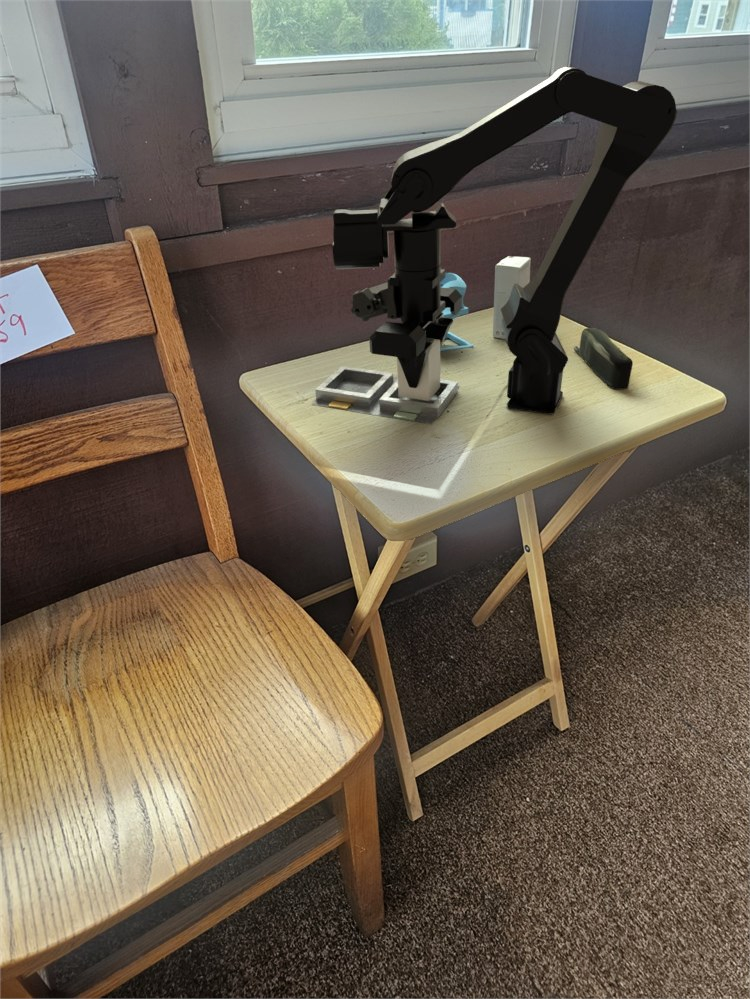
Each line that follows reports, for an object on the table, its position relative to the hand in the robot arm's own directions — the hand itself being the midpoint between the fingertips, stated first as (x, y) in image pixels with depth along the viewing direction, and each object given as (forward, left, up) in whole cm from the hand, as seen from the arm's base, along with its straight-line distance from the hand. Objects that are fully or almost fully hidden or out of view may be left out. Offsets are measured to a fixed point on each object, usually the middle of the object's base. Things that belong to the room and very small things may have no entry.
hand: (419, 380), depth 93 cm
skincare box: (-5, -30, -4) cm, 31 cm away
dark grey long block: (-21, -20, -4) cm, 29 cm away
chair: (+4, -20, -4) cm, 21 cm away
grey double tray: (+5, 0, -4) cm, 6 cm away
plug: (0, 0, -2) cm, 2 cm away
